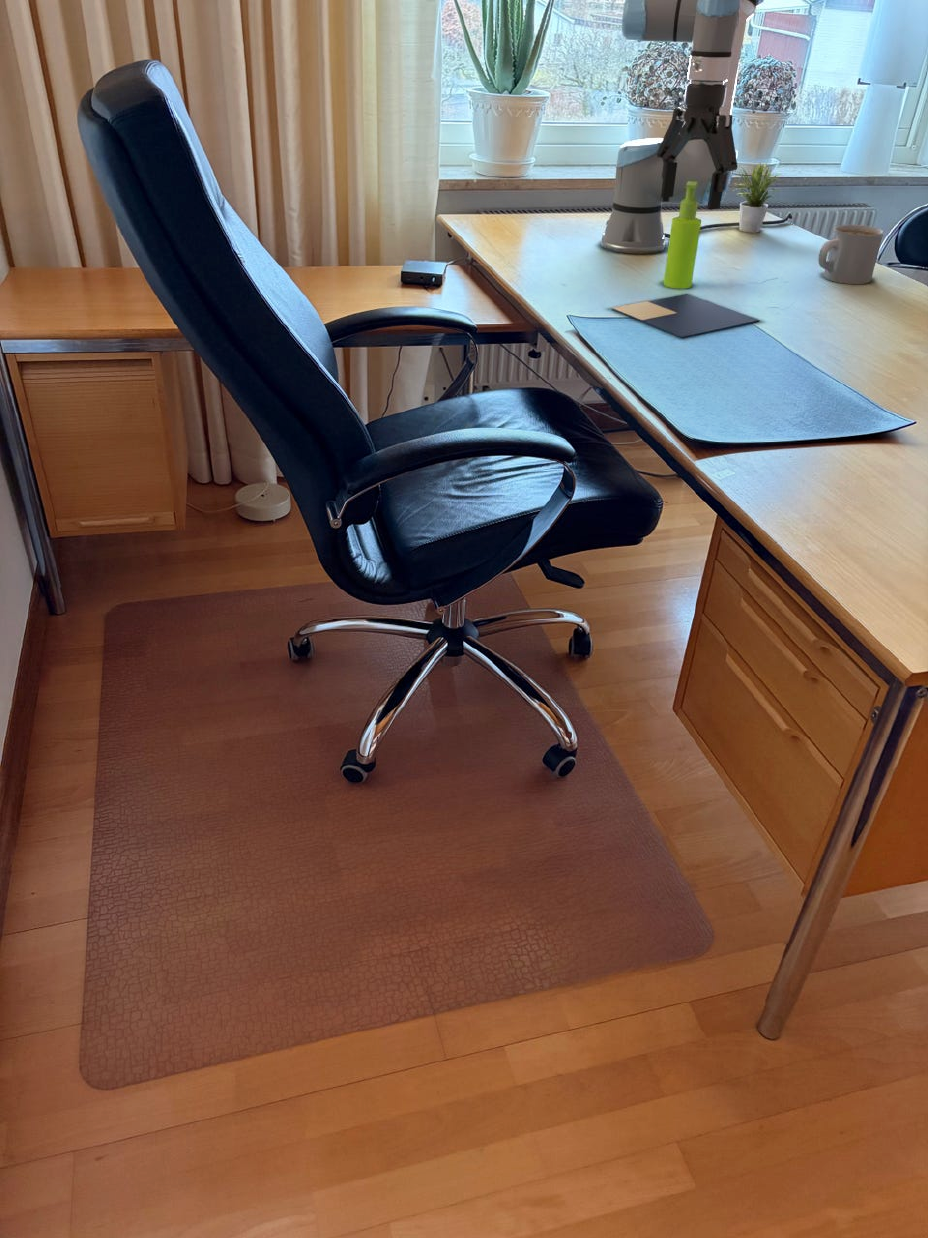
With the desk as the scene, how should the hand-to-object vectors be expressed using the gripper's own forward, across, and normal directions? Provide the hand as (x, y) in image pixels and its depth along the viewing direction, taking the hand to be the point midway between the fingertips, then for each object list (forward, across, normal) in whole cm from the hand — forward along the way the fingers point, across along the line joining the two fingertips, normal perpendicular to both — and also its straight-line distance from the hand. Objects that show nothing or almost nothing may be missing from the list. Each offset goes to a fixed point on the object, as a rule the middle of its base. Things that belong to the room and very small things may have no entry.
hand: (689, 202), depth 186 cm
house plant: (+16, -30, +52) cm, 62 cm away
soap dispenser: (+16, 0, 0) cm, 16 cm away
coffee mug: (+16, +14, +35) cm, 41 cm away
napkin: (+16, +17, -14) cm, 27 cm away
